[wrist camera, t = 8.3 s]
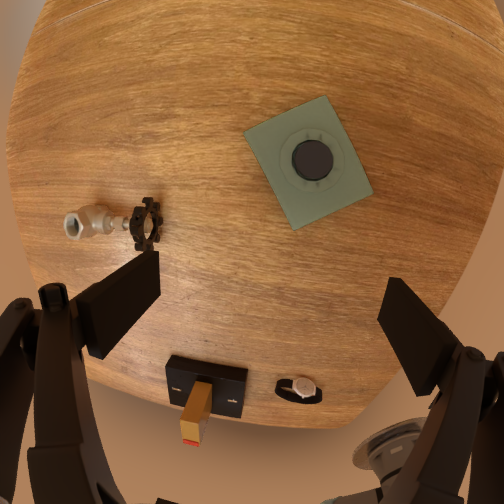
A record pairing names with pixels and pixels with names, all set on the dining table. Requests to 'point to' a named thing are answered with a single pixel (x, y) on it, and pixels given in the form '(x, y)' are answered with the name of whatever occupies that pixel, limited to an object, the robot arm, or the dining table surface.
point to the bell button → (313, 159)
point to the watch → (299, 391)
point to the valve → (116, 223)
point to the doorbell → (286, 174)
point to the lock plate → (221, 377)
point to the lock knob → (196, 413)
